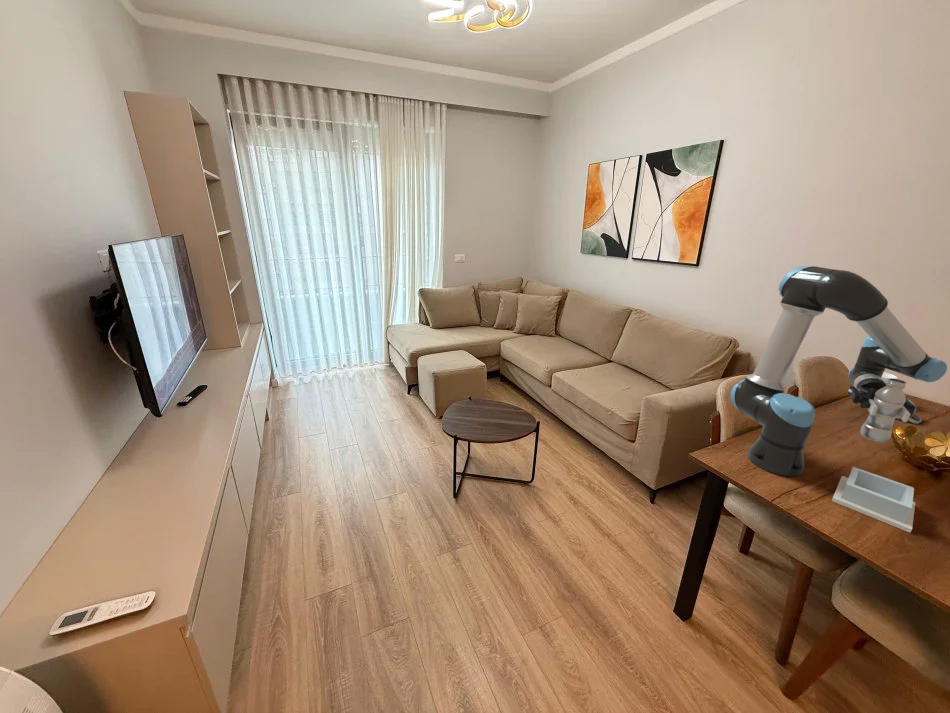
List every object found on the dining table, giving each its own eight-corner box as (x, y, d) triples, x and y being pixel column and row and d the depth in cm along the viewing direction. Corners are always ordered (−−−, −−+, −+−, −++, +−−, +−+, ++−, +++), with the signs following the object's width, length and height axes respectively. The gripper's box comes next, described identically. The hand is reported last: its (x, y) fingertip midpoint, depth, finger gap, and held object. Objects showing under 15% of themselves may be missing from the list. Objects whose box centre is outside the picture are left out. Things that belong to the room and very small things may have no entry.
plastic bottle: (878, 446, 116) (904, 386, 109) (852, 434, 122) (876, 377, 116) (892, 443, 118) (919, 384, 111) (866, 432, 124) (890, 375, 117)
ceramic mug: (881, 415, 165) (888, 399, 162) (887, 411, 168) (894, 395, 166) (916, 426, 156) (924, 410, 153) (922, 421, 160) (930, 405, 157)
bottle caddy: (831, 500, 113) (838, 483, 111) (840, 478, 123) (847, 462, 121) (910, 532, 102) (919, 514, 100) (913, 505, 112) (922, 488, 110)
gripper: (906, 405, 127) (932, 435, 109) (830, 391, 137) (842, 416, 119) (915, 384, 124) (943, 412, 106) (837, 371, 134) (851, 394, 116)
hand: (890, 414), depth 112 cm, fingers closed on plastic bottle, 6 cm apart
